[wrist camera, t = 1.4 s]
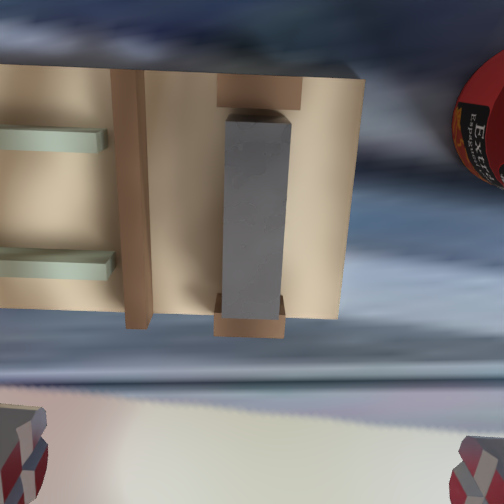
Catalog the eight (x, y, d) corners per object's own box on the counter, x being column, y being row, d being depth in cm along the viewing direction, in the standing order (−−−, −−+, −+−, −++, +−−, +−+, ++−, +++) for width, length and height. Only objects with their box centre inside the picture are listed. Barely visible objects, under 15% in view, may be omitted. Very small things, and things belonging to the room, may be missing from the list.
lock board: (360, 79, 26) (377, 80, 22) (334, 310, 31) (345, 340, 27) (-89, 60, 25) (-142, 58, 22) (-42, 297, 30) (-80, 326, 27)
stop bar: (229, 114, 25) (225, 121, 21) (285, 116, 25) (291, 124, 21) (225, 286, 29) (221, 317, 25) (275, 287, 29) (278, 319, 25)
